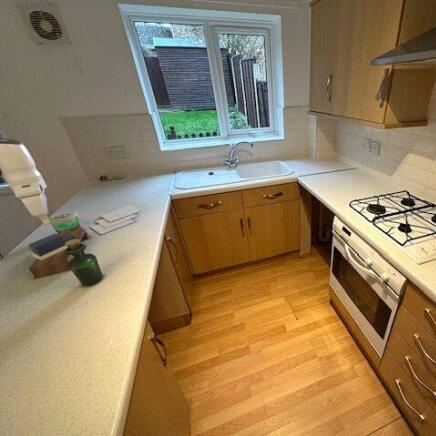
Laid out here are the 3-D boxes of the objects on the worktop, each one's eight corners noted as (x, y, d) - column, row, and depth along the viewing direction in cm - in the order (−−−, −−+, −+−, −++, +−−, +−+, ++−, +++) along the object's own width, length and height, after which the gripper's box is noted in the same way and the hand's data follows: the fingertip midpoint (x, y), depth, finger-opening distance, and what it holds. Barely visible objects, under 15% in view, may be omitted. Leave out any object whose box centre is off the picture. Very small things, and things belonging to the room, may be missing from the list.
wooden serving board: (35, 278, 94) (28, 268, 92) (59, 242, 116) (54, 234, 114) (73, 269, 98) (67, 259, 96) (89, 236, 121) (85, 228, 118)
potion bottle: (107, 280, 92) (87, 242, 84) (80, 291, 87) (57, 251, 79) (103, 270, 97) (84, 233, 89) (78, 280, 92) (56, 241, 84)
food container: (54, 240, 119) (44, 222, 114) (54, 235, 123) (45, 217, 118) (85, 231, 125) (76, 214, 121) (84, 227, 130) (76, 210, 125)
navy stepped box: (41, 260, 96) (33, 248, 93) (34, 257, 98) (26, 245, 95) (80, 242, 107) (74, 231, 104) (73, 239, 109) (67, 228, 106)
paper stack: (149, 215, 140) (149, 214, 140) (101, 234, 122) (100, 233, 122) (130, 206, 152) (129, 205, 152) (83, 222, 134) (82, 221, 134)
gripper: (18, 180, 92) (36, 212, 99) (13, 195, 79) (35, 231, 85) (40, 176, 96) (56, 207, 102) (39, 190, 83) (58, 225, 89)
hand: (47, 218), depth 94 cm, fingers open, 8 cm apart
